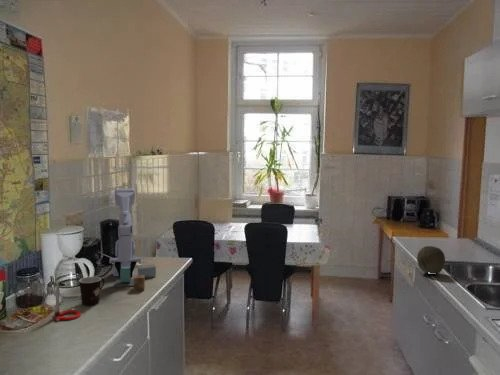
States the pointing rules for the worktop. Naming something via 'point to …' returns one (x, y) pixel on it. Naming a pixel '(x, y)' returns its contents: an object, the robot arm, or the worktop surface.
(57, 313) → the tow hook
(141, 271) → the control box
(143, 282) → the walnut block
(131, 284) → the mat
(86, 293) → the coffee mug
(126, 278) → the teal block
